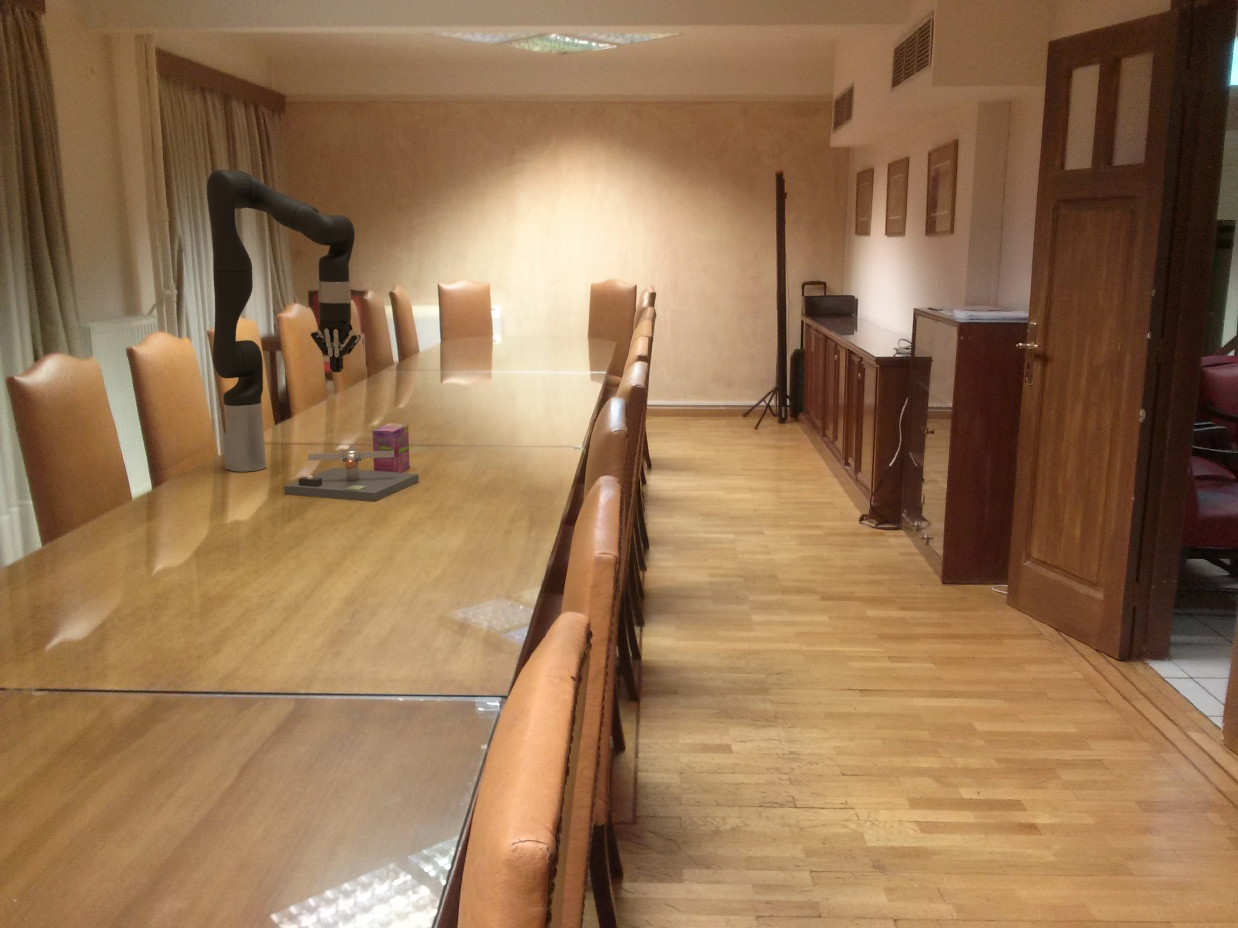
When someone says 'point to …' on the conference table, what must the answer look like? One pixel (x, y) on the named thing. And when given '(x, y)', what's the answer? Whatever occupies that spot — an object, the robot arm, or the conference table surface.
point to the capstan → (350, 456)
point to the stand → (351, 484)
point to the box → (392, 447)
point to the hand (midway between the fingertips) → (336, 371)
